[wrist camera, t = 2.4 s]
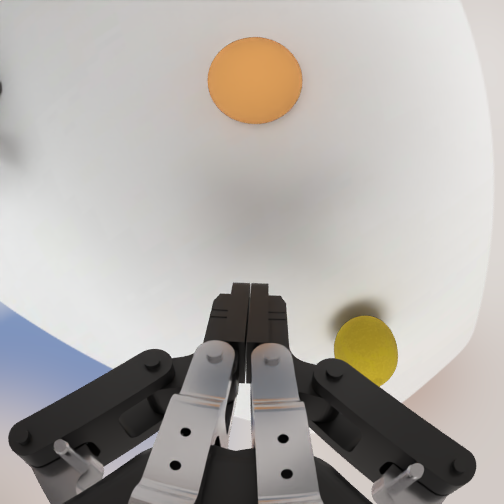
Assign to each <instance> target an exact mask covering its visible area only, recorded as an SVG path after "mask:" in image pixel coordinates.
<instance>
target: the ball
mask: <svg viewBox="0 0 504 504" xmlns="http://www.w3.org/2000/svg"><path fill="white" fill-rule="evenodd" d="M208 88H209V92H210V95H211V98H212V100H213V101H214V103H215V104H216V106H217V107H218V108H219V109H220V110H221V111H222V112H223V113H224V114H225V115H227V116H229V117H230V118H232V119H234V120H237V121H240V122H243V123H248V124H262V123H267V122H271V121H273V120H276V119H278V118H280V117H281V116H283V115H284V114H286V113H287V112H288V111H289V110H290V109H291V108H292V107H293V106H294V104H295V103H296V101H297V100H298V98H299V95H300V92H301V88H302V73H301V69H300V66H299V64H298V62H297V60H296V59H295V57H294V56H293V54H292V53H291V52H290V51H289V50H288V49H286V48H285V47H284V46H283V45H281V44H279V43H277V42H275V41H273V40H270V39H266V38H260V37H249V38H243V39H240V40H237V41H234V42H232V43H230V44H229V45H227V46H226V47H224V48H223V49H222V50H221V51H220V52H219V53H218V54H217V55H216V57H215V58H214V60H213V62H212V63H211V66H210V69H209V73H208Z"/></svg>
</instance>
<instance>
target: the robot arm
mask: <svg viewBox="0 0 504 504" xmlns="http://www.w3.org/2000/svg"><path fill="white" fill-rule="evenodd" d="M245 372H246V383H251V392H250V393H251V394H250V406H251V432H252V433H251V434H252V448H251V449H245V450H239V451H233V450H229V449H228V441H229V435H230V430H231V425H232V420H233V415H234V410H235V405H236V399H237V394H238V386H239V383H245ZM309 427H310V428H311V429H312V430H313V431H314V432H315V433H316V434H317V435H318V436H320V437H321V438H322V439H323V440H324V441H325V442H326V443H327V444H328V445H330V446H331V447H332V448H333V449H334V450H335V451H336V452H337V453H339V454H340V455H341V456H342V457H343V458H344V459H346V460H347V461H348V462H349V463H350V464H351V465H353V466H354V467H355V468H356V469H358V470H359V471H360V472H361V473H363V475H365V476H366V477H367V478H368V479H370V480H371V481H372V482H373V483H374V484H373V487H372V497H373V499H374V501H375V502H376V503H377V504H442V502H443V501H444V499H445V498H446V497H447V496H448V495H449V494H451V493H452V492H454V491H455V490H457V489H458V488H460V487H462V486H463V485H465V484H466V483H468V482H469V481H470V480H471V479H472V477H473V476H474V474H475V471H476V461H475V458H474V456H473V454H472V453H471V452H470V451H468V450H467V449H466V448H464V447H463V446H461V445H460V444H458V443H457V442H455V441H454V440H452V439H451V438H450V437H448V436H447V435H445V434H444V433H442V432H441V431H440V430H438V429H437V428H435V427H434V426H432V425H431V424H430V423H428V422H427V421H425V420H424V419H423V418H421V417H420V416H418V415H417V414H416V413H414V412H413V411H411V410H410V409H409V408H407V407H406V406H405V405H403V404H402V403H400V402H399V401H398V400H396V399H395V398H394V397H392V396H391V395H390V394H388V393H387V392H385V391H384V390H383V389H381V388H380V387H379V386H377V385H376V384H375V383H373V382H372V381H371V380H369V379H368V378H367V377H365V376H364V375H363V374H361V373H360V372H359V371H357V370H356V369H355V368H353V367H352V366H351V365H349V364H348V363H347V362H345V361H343V360H340V359H336V358H329V359H325V360H322V361H320V362H319V363H318V364H317V365H314V364H310V363H306V362H303V361H301V360H299V359H297V358H296V357H295V356H294V355H293V354H292V353H291V351H290V349H289V339H288V325H287V314H286V303H285V302H284V300H283V299H282V297H281V296H268V284H259V283H252V284H251V295H250V283H233V286H232V291H231V294H220V295H219V296H218V297H217V298H216V299H215V300H214V302H213V306H212V311H211V314H210V318H209V322H208V326H207V330H206V334H205V338H204V342H203V344H201V345H200V346H199V347H198V348H197V349H196V351H195V353H193V354H191V355H189V356H185V357H178V358H171V356H170V355H169V354H168V353H167V352H165V351H163V350H159V349H150V350H146V351H144V352H142V353H140V354H138V355H137V356H135V357H133V358H132V359H130V360H128V361H126V362H125V363H123V364H121V365H120V366H118V367H116V368H114V369H113V370H111V371H109V372H108V373H106V374H104V375H102V376H101V377H99V378H97V379H95V380H94V381H92V382H90V383H88V384H87V385H85V386H83V387H81V388H80V389H78V390H76V391H74V392H72V393H71V394H69V395H67V396H65V397H64V398H62V399H60V400H58V401H56V402H55V403H53V404H51V405H49V406H47V407H45V408H44V409H42V410H40V411H38V412H36V413H34V414H33V415H31V416H29V417H27V418H25V419H23V420H21V421H20V422H18V423H16V424H15V425H14V426H13V427H12V428H11V430H10V433H9V437H8V439H9V445H10V447H11V449H12V450H13V451H14V452H15V453H16V454H17V455H19V456H20V457H21V458H22V459H23V460H24V461H25V462H26V463H27V464H28V465H29V466H30V467H31V468H32V470H33V472H34V474H35V476H36V478H37V480H38V482H39V483H40V486H41V487H42V489H43V491H44V493H45V494H46V496H47V498H48V500H49V502H50V503H51V504H373V503H372V502H370V501H369V500H368V499H367V498H366V497H365V496H364V495H362V494H361V493H360V492H359V491H358V490H357V489H356V488H355V487H353V486H352V485H351V484H350V483H349V482H348V481H347V480H346V479H345V478H344V477H343V476H342V475H340V474H339V473H338V472H337V471H336V470H335V469H334V468H333V467H332V466H331V465H329V464H328V463H326V462H325V461H323V460H321V459H319V458H317V457H315V456H313V450H312V444H311V438H310V432H309ZM158 431H159V432H158ZM156 432H158V434H157V437H156V440H155V443H154V445H153V447H152V448H150V449H147V450H145V451H143V452H142V453H140V454H138V455H137V456H135V457H134V458H133V459H131V460H130V461H128V462H127V463H125V464H124V465H122V466H121V467H120V468H118V469H117V470H115V471H114V472H112V473H111V474H109V475H108V476H106V477H105V478H104V479H102V477H103V474H104V468H103V467H104V466H105V465H107V464H109V463H110V462H112V461H113V460H115V459H117V458H118V457H120V456H121V455H123V454H125V453H126V452H128V451H129V450H131V449H132V448H134V447H135V446H137V445H138V444H140V443H141V442H143V441H144V440H146V439H147V438H149V437H150V436H152V435H153V434H155V433H156Z"/></svg>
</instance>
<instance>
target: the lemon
mask: <svg viewBox="0 0 504 504" xmlns="http://www.w3.org/2000/svg"><path fill="white" fill-rule="evenodd" d="M334 355H335V358H336V359H340V360H343V361H345V362H347V363H348V364H349V365H351V366H352V367H353V368H355V369H356V370H357V371H359V372H360V373H361V374H363V375H364V376H365V377H367V378H368V379H369V380H371V381H372V382H373V383H375V384H376V385H377V386H379V387H380V386H381V385H383V384H384V383H385V382H387V381H388V380H389V379H390V377H391V376H392V375H393V373H394V371H395V369H396V366H397V362H398V350H397V344H396V341H395V338H394V336H393V334H392V332H391V330H390V329H389V327H388V326H387V325H386V324H385V323H384V322H383V321H381V320H380V319H377V318H375V317H372V316H358V317H355V318H353V319H351V320H349V321H348V322H346V323H345V324H344V325H343V326H342V327H341V329H340V330H339V332H338V334H337V336H336V339H335V343H334Z"/></svg>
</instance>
